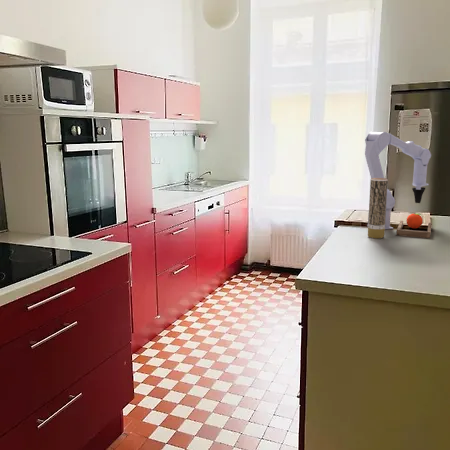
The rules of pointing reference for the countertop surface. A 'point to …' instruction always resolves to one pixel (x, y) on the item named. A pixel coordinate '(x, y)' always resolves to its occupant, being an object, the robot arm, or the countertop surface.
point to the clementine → (414, 220)
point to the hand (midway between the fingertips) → (417, 202)
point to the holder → (413, 232)
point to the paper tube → (377, 207)
